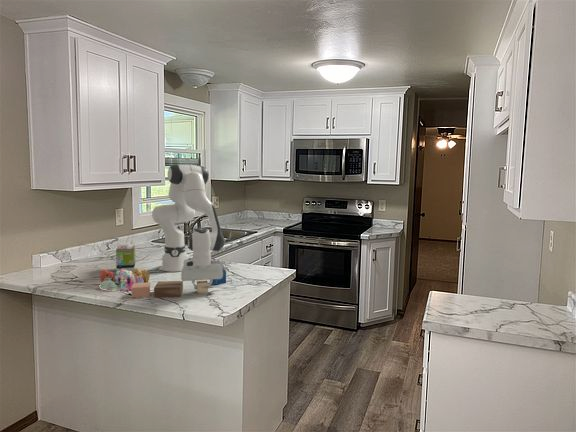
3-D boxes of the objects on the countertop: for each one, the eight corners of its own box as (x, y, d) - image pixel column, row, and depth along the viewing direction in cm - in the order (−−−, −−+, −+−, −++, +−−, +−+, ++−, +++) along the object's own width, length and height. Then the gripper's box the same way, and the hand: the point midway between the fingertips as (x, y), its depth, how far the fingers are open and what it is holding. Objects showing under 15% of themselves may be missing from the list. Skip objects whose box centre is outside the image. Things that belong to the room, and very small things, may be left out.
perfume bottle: (209, 282, 237) (209, 260, 236) (219, 280, 242) (219, 258, 240) (216, 285, 233) (216, 262, 232) (226, 282, 237) (225, 260, 236)
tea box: (134, 273, 256) (133, 248, 254) (116, 274, 253) (115, 249, 252) (136, 267, 270) (135, 243, 269) (118, 268, 268) (117, 244, 266)
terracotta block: (133, 293, 218) (132, 283, 217) (150, 292, 220) (150, 282, 219) (131, 298, 210) (131, 287, 209) (149, 297, 212) (149, 286, 211)
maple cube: (197, 290, 223) (196, 280, 222) (207, 289, 224) (207, 280, 223) (197, 293, 218) (197, 283, 217) (207, 292, 219) (207, 282, 218)
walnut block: (158, 291, 222) (158, 281, 222) (183, 290, 224) (182, 280, 223) (154, 298, 210) (153, 288, 210) (180, 297, 212) (179, 287, 211)
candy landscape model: (138, 277, 248) (137, 261, 247) (158, 286, 231) (157, 269, 230) (92, 285, 231) (91, 268, 230) (109, 295, 214) (108, 277, 213)
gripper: (222, 258, 225) (222, 285, 226) (180, 260, 220) (181, 287, 221) (223, 261, 218) (224, 288, 220) (180, 263, 213) (181, 291, 215)
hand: (202, 288), depth 221 cm, fingers closed on maple cube, 5 cm apart
